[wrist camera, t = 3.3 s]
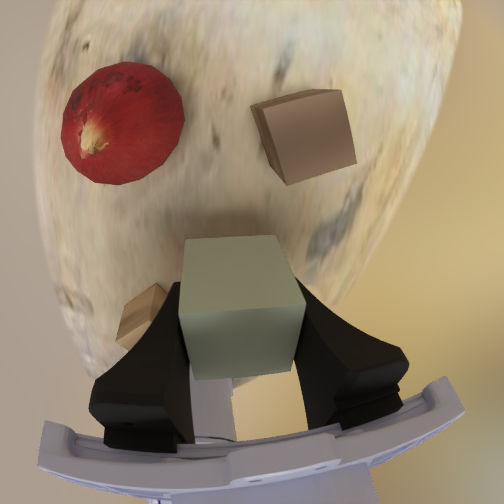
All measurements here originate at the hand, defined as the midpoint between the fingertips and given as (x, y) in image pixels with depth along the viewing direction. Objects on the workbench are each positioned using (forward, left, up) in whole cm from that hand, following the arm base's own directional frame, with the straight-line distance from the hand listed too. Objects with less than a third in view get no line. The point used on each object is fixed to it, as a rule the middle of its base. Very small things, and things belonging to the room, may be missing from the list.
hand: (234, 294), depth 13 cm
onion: (+8, +5, -7) cm, 12 cm away
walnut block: (+7, -4, -7) cm, 10 cm away
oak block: (-7, +6, -7) cm, 11 cm away
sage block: (0, 0, -2) cm, 2 cm away
